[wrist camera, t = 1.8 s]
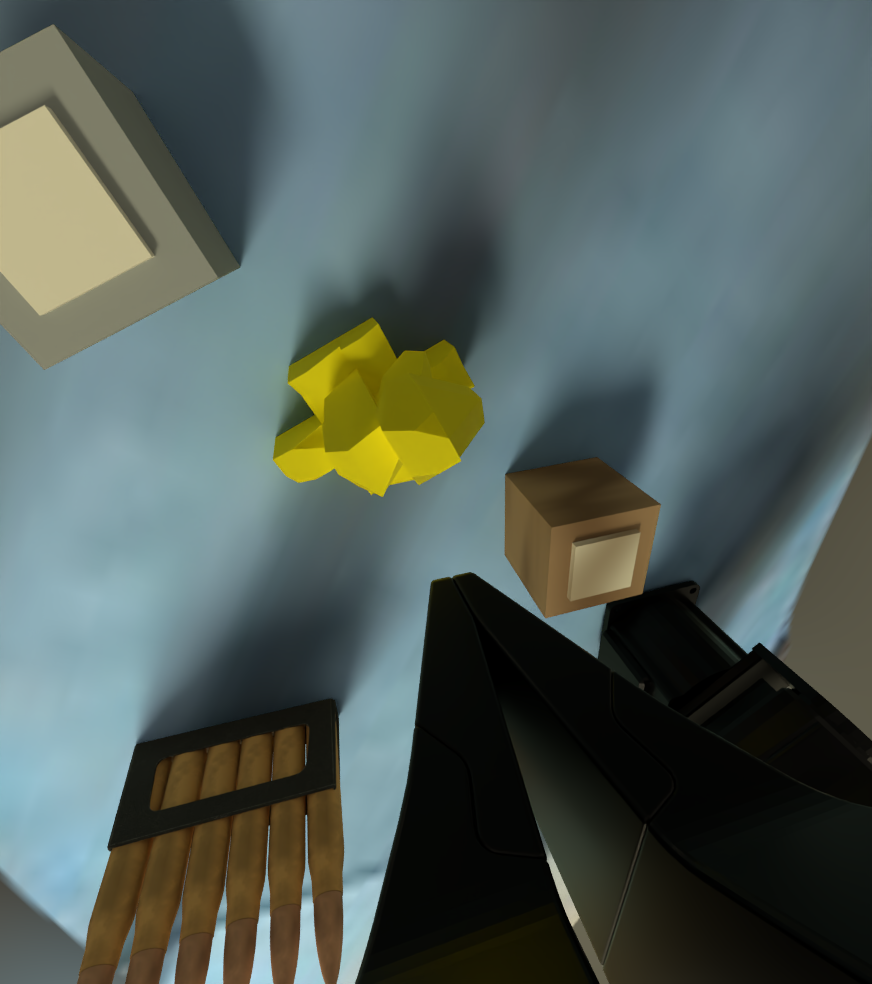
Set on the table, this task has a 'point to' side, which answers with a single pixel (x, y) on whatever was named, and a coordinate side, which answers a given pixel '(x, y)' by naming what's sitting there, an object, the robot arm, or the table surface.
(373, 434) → the crumpled paper
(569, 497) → the walnut tagged block
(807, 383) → the table surface
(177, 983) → the ammunition clip
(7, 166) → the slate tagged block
